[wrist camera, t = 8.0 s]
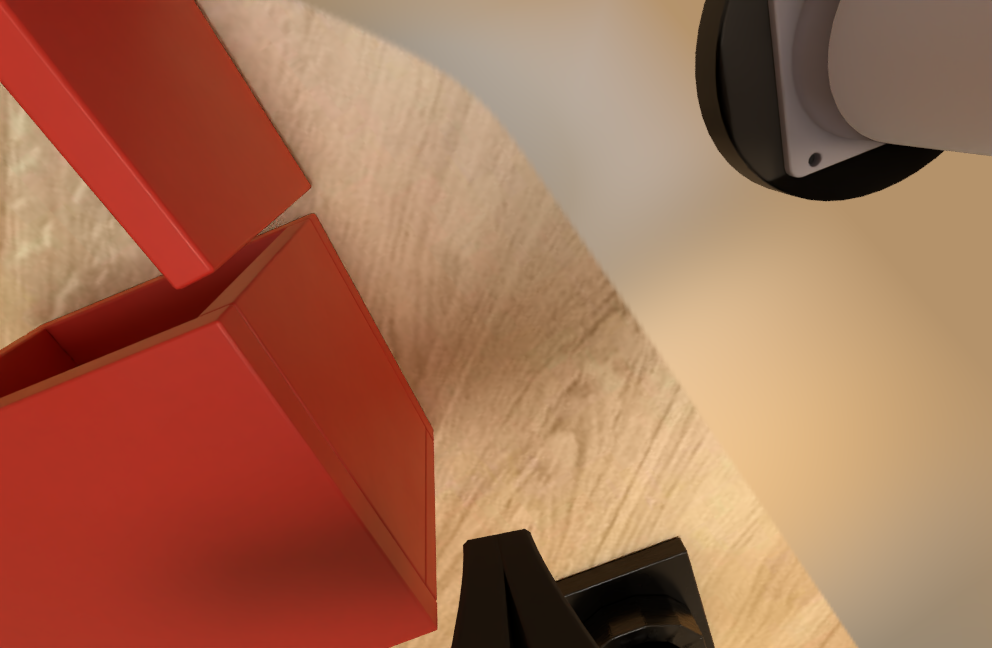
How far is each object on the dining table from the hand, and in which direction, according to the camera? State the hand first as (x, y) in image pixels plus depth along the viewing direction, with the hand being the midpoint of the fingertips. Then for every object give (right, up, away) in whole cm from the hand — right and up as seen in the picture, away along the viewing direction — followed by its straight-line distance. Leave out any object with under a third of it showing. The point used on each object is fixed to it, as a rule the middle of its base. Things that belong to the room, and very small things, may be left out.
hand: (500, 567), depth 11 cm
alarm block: (+7, -11, +17) cm, 21 cm away
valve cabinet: (-9, +3, +8) cm, 12 cm away
